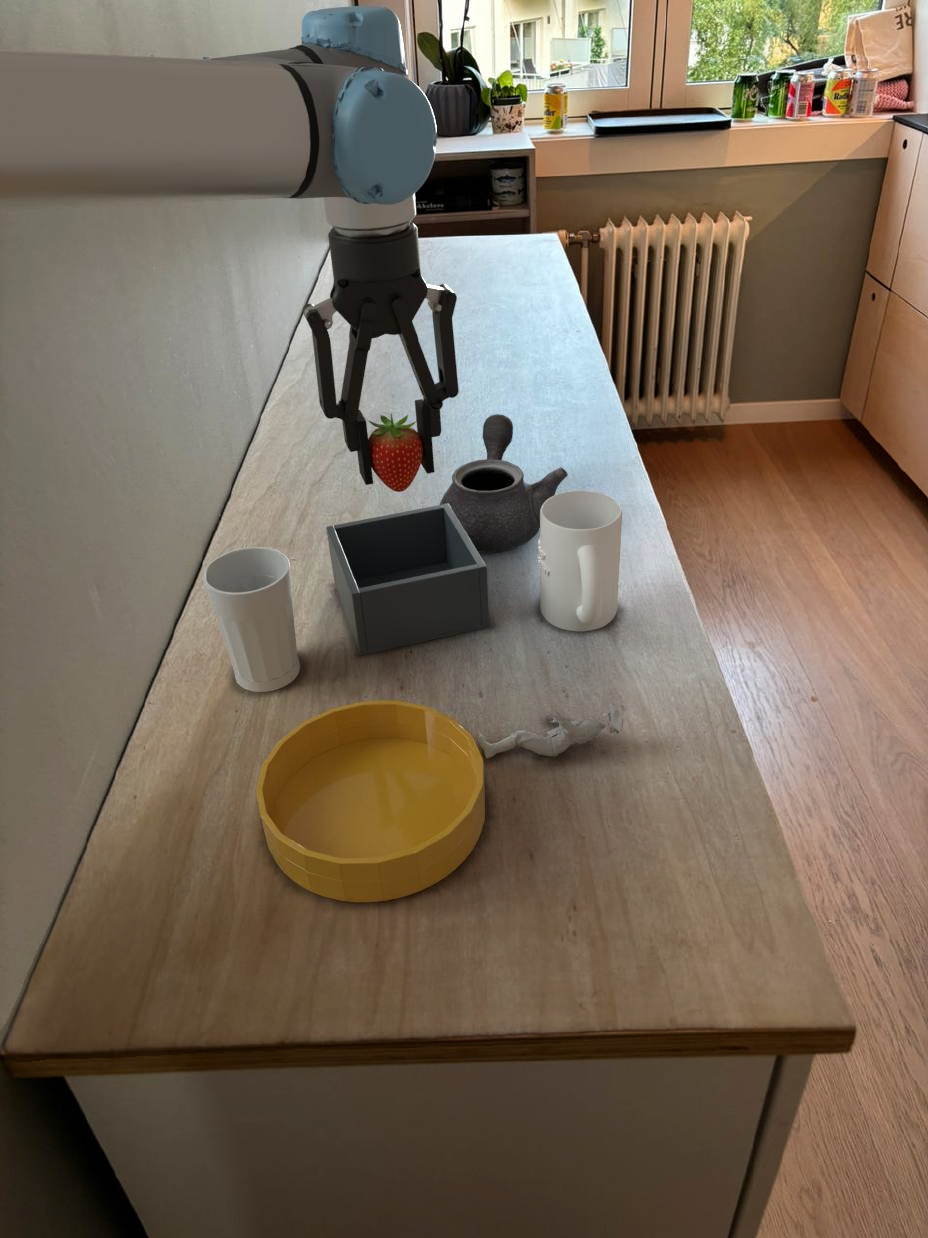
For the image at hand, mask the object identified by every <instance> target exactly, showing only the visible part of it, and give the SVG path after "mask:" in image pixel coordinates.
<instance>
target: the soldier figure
mask: <svg viewBox="0 0 928 1238" xmlns="http://www.w3.org/2000/svg"><path fill="white" fill-rule="evenodd" d="M545 709H546V710H545V712H547V713H545V715H546V716H547V717H552V719H553V720H550V721H549V723H558V726H557V727H554V728H553V729H551V730H548V731H546V734H547V736H545V737H543V736H542V735H540V734H539V733H536V732H531V731H527V730H523V729H518V730H517V731H515V732H512V733H511V734H510V735H509V736H507V737H505V738H503V739H501V740H500V741H497V742H494V743H490V742H489V741H487V740H486V736H485V735H481V734H478V737H477V738H478V739H477V740H478V744H479V746H480V747H481V748H482V750H483V753H484V756H485V758H486V759H487V760H488V759H490V758H493V757H494V756H496V754H498V753H499V754H500V753H502V752H506V751H509V750H511V749H514V748H515V747H516V746H520V747H522V748H524V749H526V750H529V751H531V752H533V753H535V754H537V755H540V756H545V757H554V758H555V757H557V756H558V755H560V754H561V753H563V752H565V751H566V750H567V749H568V748H569V747H570V746H571V745H581V744H586V743H587V742H589V741H595V738H597V737H598V736H599V734H600V732H601V731H602V730H604V728H605V729H606V730H607V731H608V733H609V734H612V735H613V734H614V735H615V734H617V735H619V734H620V733H622V731H623V725H624V719H623V717H622V715H621V714H622V713H620V711H619V709H618V708H617V706H616V705H614V704H613V702H610V703H609V712H605V713H603V714H602V717H603V721H604V723H603V722H601V720H599V719H598V717H594V716H592V717H590V718H587V717H584V718H579V719H576V720H572V721H569V720H568V719H567V718H566V717H563V715H562V714H561V713H559V712H558V711H557V710H555V709H554V708H552V707H547V708H545ZM607 718H608V726H609V729H607V727H606V726H605V725H606V724H607V723H606V720H605V719H607Z"/></svg>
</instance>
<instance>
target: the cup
mask: <svg viewBox="0 0 928 1238" xmlns="http://www.w3.org/2000/svg"><path fill="white" fill-rule="evenodd" d="M201 580H202V582H203V585H204V589H205V591H206V594H207V597H208V599H209V600H208V601H209V602H210V606H211V608H212V610H213V613H214V616H215V620H216V622H217V625H218V628H219V631H220V634H221V637H222V640H223V643H224V645H225V649H226V651H227V655H228V657H229V661H230V663H231V666H232V669H233V673H234V679H235V681H236V683H237V684H238V685H239V686H240V687H241V688H242V689H244V690H245V691H249V692H255V693H266V692H267V693H268V692H274V691H277V690H279V689H282V688H284V687H286V686H287V685H289V684H291V683H292V682H293V681H294V680H295V679H296V678H297V677H298V675H299V673H300V669H301V665H300V660H299V655H298V648H297V639H296V628H295V627H296V626H295V616H294V606H293V597H292V596H293V587H292V573H291V562H290V559H289V558H288V556H287V555H285V553H283V552H282V551H280V550H277V549H275V548H271V547H265V546H248V547H241V548H236V549H232V550H230V551H229V550H228V551H227V552H224V553H222V554H220V555H219V556H216V557H215V558H213V559H212V560H211V561H210V562H209V563H208V564H207V565H206V566H205V567H204V569H203V570H202V574H201Z"/></svg>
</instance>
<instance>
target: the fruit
mask: <svg viewBox="0 0 928 1238" xmlns="http://www.w3.org/2000/svg"><path fill="white" fill-rule="evenodd" d="M379 417H380V421H381V423H382V424H380V423H376V422H373V421H371V420H369V419H368V420H367V421H368V422H369V423H370V424H371V425H372V426H373V427H375V429H374V430H372V432H371V434H370V435H369V436H368V442H369V450H370V459H371V467H372V472H374V474H375V475H376V476H377V477H378V478H379V480H380V481H381V482H382V484H384V485H385V486H386V487H387V488H388V489H390V490H391V491H392V492H397V493H402V492H405V491H406V490H407V489H408V488H409V487H410V486H411V485H412V483H413V482H414V480H415V478H416V476H417V474H418V472H419V470H420V467H421V465H422V464H421V460H422V455H423V444H422V440H421V438H420V436H419V434H418V433H417V430H416V429H415V428H413V426H414V425H415V424H417V422H416V421H413V422H412V423H408V424H405V423H406V422H407V421H408V417H409V414H407V415H405V416H404V417H402V418H401V419H399V420H398V421H396V422H394V419H393V413H390V419H389V418H388V417H387V416H386V415H383V414H380V416H379Z"/></svg>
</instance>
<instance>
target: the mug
mask: <svg viewBox="0 0 928 1238" xmlns="http://www.w3.org/2000/svg"><path fill="white" fill-rule="evenodd" d="M622 523H623V509H622V506H621V505H620V503H619V502H618V501H617V500H616V499H615V498H613V497H612V496H611V495H607V494H605V493H602V492H598V491H595V490H585V489H584V490H583V489H581V490H580V489H579V490H577V489H575V490H567V491H563V492H559V493H557V494H555V495H554V496H552V497H550V498H549V499H547V500H546V501H545V502H544V504H543V505H542V507H541V510H540V529H539V538H538V541H537V567H538V568H539V585H540V588H539V590H540V592H539V593H540V595H539V596H540V597H539V598H540V599H539V600H540V601H539V602H540V606H539V608H540V613H541V615H542V616H543V618H544V619H545V620H546V622H548V623H549V624H550V625H552V626H554V627H556V628H558V629H561V630H564V631H569V632H588V631H589V632H590V631H591V632H592V631H595V630H598V629H601V628H603V627H605V626H607V625H608V624H610V623H611V622H612V621H613V620H614V619H615V616H616V615H617V612H618V598H619V583H620V581H619V580H620V562H621V546H622V545H621V543H622V526H623V524H622Z"/></svg>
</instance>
